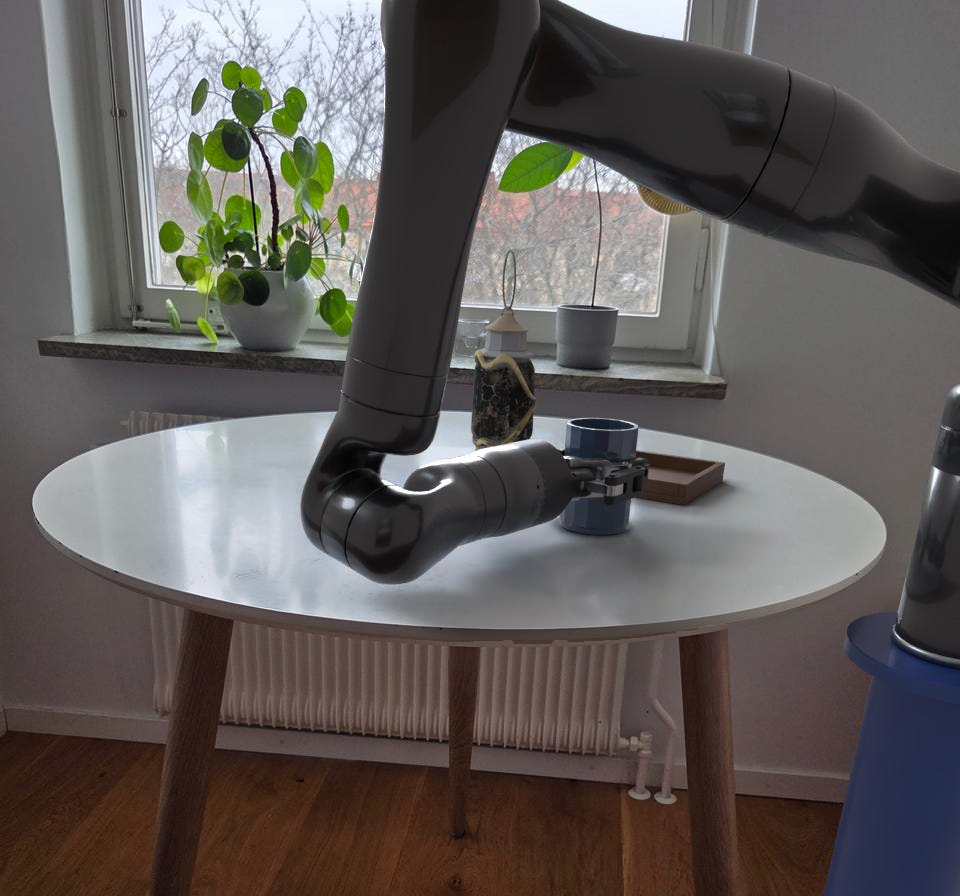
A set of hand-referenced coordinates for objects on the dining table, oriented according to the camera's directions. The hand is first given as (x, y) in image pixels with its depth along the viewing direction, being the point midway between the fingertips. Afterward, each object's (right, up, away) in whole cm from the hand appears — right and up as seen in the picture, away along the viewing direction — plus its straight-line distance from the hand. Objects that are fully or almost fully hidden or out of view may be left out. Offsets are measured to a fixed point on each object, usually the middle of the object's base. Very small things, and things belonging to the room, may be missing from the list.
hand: (610, 462), depth 92 cm
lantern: (-10, +5, +28) cm, 30 cm away
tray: (+5, +1, +19) cm, 20 cm away
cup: (-2, -6, +1) cm, 6 cm away
